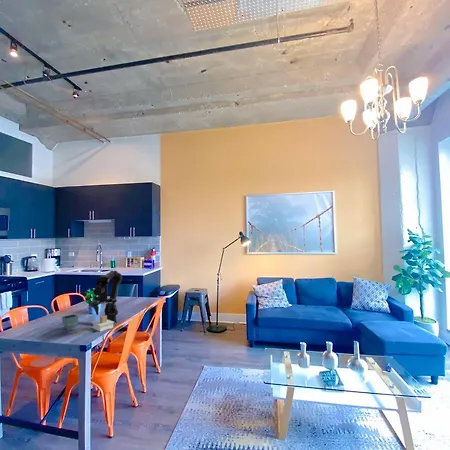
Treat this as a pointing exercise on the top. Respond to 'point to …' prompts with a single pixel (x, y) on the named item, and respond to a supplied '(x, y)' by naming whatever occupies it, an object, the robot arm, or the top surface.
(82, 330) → the mat
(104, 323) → the lid
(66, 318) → the flower pot
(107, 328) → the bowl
